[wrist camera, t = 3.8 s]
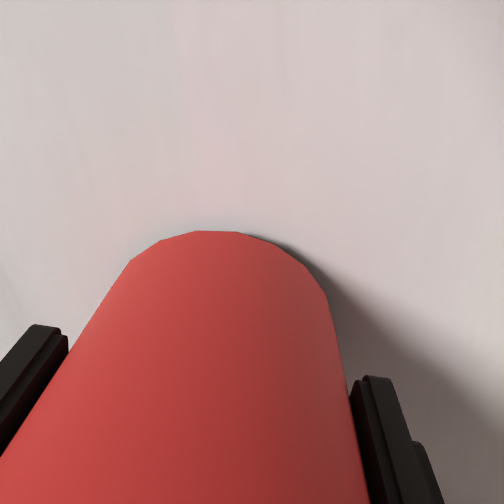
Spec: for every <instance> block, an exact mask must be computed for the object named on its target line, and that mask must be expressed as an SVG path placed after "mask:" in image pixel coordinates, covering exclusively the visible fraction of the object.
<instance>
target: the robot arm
mask: <svg viewBox="0 0 504 504" xmlns="http://www.w3.org/2000/svg"><path fill="white" fill-rule="evenodd" d="M68 353H69V350H68V337H67V336H66V335H62V334H61V330H60V329H59V328H56V327H50V326H43V325H37V324H34V325H32V326H31V327H29V329H28V330H27V331H26V332H25V333H24V334H23V336H22V337H21V338H20V339H19V340H18V342H17V343H16V344H15V345H14V346H13V347H12V349H11V350H10V351H9V352H8V353H7V354H6V356H5V357H4V358H3V359H2V360H1V362H0V457H1V455H2V454H3V452H4V451H5V449H6V448H7V446H8V445H9V443H10V442H11V440H12V439H13V437H14V436H15V434H16V432H17V431H18V429H19V428H20V426H21V425H22V423H23V422H24V420H25V419H26V417H27V416H28V414H29V413H30V411H31V410H32V408H33V406H34V405H35V403H36V402H37V400H38V399H39V397H40V396H41V394H42V393H43V391H44V390H45V388H46V387H47V385H48V384H49V382H50V381H51V379H52V377H53V376H54V374H55V373H56V371H57V370H58V368H59V367H60V365H61V364H62V362H63V361H64V359H65V358H66V356H67V355H68ZM349 399H350V404H351V409H352V414H353V419H354V424H355V428H356V433H357V438H358V443H359V448H360V453H361V457H362V462H363V467H364V472H365V477H366V481H367V486H368V491H369V496H370V501H371V504H445V503H444V500H443V497H442V494H441V492H440V489H439V486H438V484H437V481H436V478H435V475H434V473H433V470H432V467H431V464H430V462H429V459H428V456H427V453H426V451H425V449H424V447H423V445H422V444H421V443H420V442H416V441H412V439H411V436H410V433H409V431H408V428H407V425H406V422H405V419H404V416H403V413H402V410H401V407H400V404H399V401H398V398H397V395H396V392H395V389H394V387H393V384H392V382H391V380H390V379H388V378H382V377H375V376H369V375H365V376H364V377H363V379H362V381H360V380H356V381H355V383H354V385H353V388H352V391H351V394H350V397H349Z"/></svg>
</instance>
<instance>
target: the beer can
mask: <svg viewBox="0 0 504 504" xmlns="http://www.w3.org/2000/svg"><path fill="white" fill-rule="evenodd" d="M0 504H371V501H370V496H369V491H368V486H367V481H366V477H365V472H364V467H363V462H362V457H361V453H360V448H359V443H358V438H357V433H356V428H355V424H354V419H353V414H352V409H351V404H350V399H349V395H348V390H347V385H346V380H345V375H344V370H343V366H342V361H341V356H340V351H339V346H338V341H337V337H336V332H335V327H334V323H333V319H332V316H331V312H330V308H329V305H328V301H327V298H326V294H325V293H324V291H323V290H322V289H321V287H320V286H319V284H318V283H317V282H316V280H315V279H314V278H313V276H312V275H311V274H310V272H309V271H308V269H307V268H306V267H305V266H304V265H303V264H301V263H300V262H298V261H297V260H296V259H294V258H293V257H291V256H290V255H289V254H287V253H286V252H284V251H283V250H281V249H280V248H279V247H277V246H276V245H274V244H272V243H269V242H266V241H263V240H260V239H257V238H253V237H250V236H247V235H244V234H241V233H238V232H223V231H194V232H190V233H186V234H183V235H179V236H175V237H172V238H168V239H164V240H161V241H158V242H157V243H156V244H154V245H153V246H151V247H150V248H148V249H147V250H145V251H144V252H142V253H141V254H139V255H138V256H136V257H135V258H133V259H132V260H130V262H129V263H128V265H127V266H126V267H125V269H124V270H123V272H122V273H121V274H120V276H119V277H118V279H117V280H116V282H115V283H114V284H113V286H112V287H111V289H110V290H109V292H108V293H107V295H106V297H105V298H104V300H103V301H102V303H101V304H100V306H99V307H98V309H97V310H96V312H95V313H94V315H93V316H92V318H91V319H90V321H89V322H88V324H87V326H86V327H85V329H84V330H83V332H82V333H81V335H80V336H79V338H78V339H77V341H76V342H75V344H74V345H73V347H72V348H71V350H70V351H69V353H68V355H67V356H66V358H65V359H64V361H63V362H62V364H61V365H60V367H59V368H58V370H57V371H56V373H55V374H54V376H53V377H52V379H51V381H50V382H49V384H48V385H47V387H46V388H45V390H44V391H43V393H42V394H41V396H40V397H39V399H38V400H37V402H36V403H35V405H34V406H33V408H32V410H31V411H30V413H29V414H28V416H27V417H26V419H25V420H24V422H23V423H22V425H21V426H20V428H19V429H18V431H17V432H16V434H15V436H14V437H13V439H12V440H11V442H10V443H9V445H8V446H7V448H6V449H5V451H4V452H3V454H2V455H1V457H0Z"/></svg>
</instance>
